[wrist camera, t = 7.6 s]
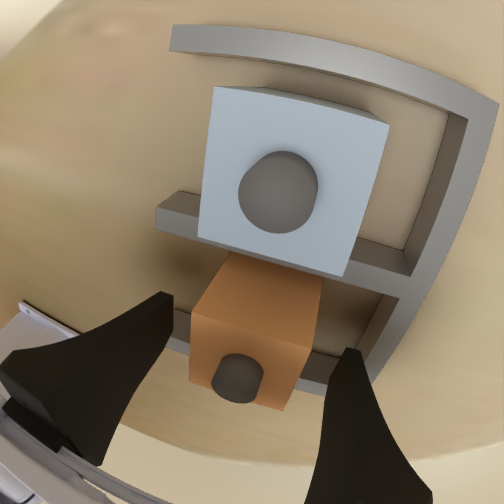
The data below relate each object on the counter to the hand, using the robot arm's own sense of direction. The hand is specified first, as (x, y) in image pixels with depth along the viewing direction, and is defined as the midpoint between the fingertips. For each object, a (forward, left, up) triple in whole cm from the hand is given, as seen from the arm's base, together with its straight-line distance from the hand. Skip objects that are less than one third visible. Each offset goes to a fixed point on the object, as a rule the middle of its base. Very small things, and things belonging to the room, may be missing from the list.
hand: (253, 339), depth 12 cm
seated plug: (0, +7, -3) cm, 8 cm away
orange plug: (0, 0, -3) cm, 3 cm away
